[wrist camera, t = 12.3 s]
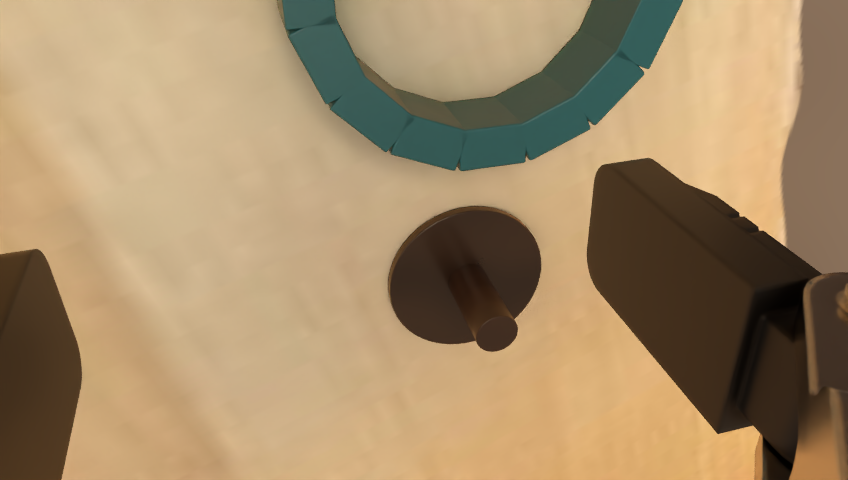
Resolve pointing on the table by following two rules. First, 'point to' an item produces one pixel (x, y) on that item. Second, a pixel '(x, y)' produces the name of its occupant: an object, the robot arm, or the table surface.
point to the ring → (494, 116)
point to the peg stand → (465, 277)
